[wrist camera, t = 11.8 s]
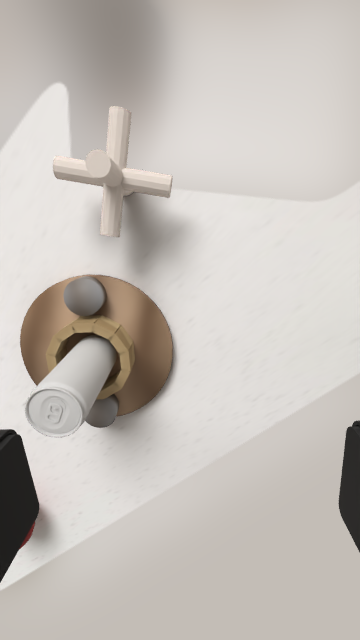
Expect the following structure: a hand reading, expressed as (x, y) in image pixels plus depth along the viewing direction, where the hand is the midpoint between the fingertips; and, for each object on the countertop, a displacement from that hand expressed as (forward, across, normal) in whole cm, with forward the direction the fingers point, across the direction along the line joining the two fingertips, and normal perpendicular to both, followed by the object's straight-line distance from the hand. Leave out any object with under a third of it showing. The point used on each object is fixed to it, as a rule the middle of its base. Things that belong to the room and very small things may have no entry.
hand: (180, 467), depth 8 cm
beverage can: (+24, +12, +6) cm, 28 cm away
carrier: (+25, +12, +6) cm, 29 cm away
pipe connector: (+26, +6, -12) cm, 29 cm away
